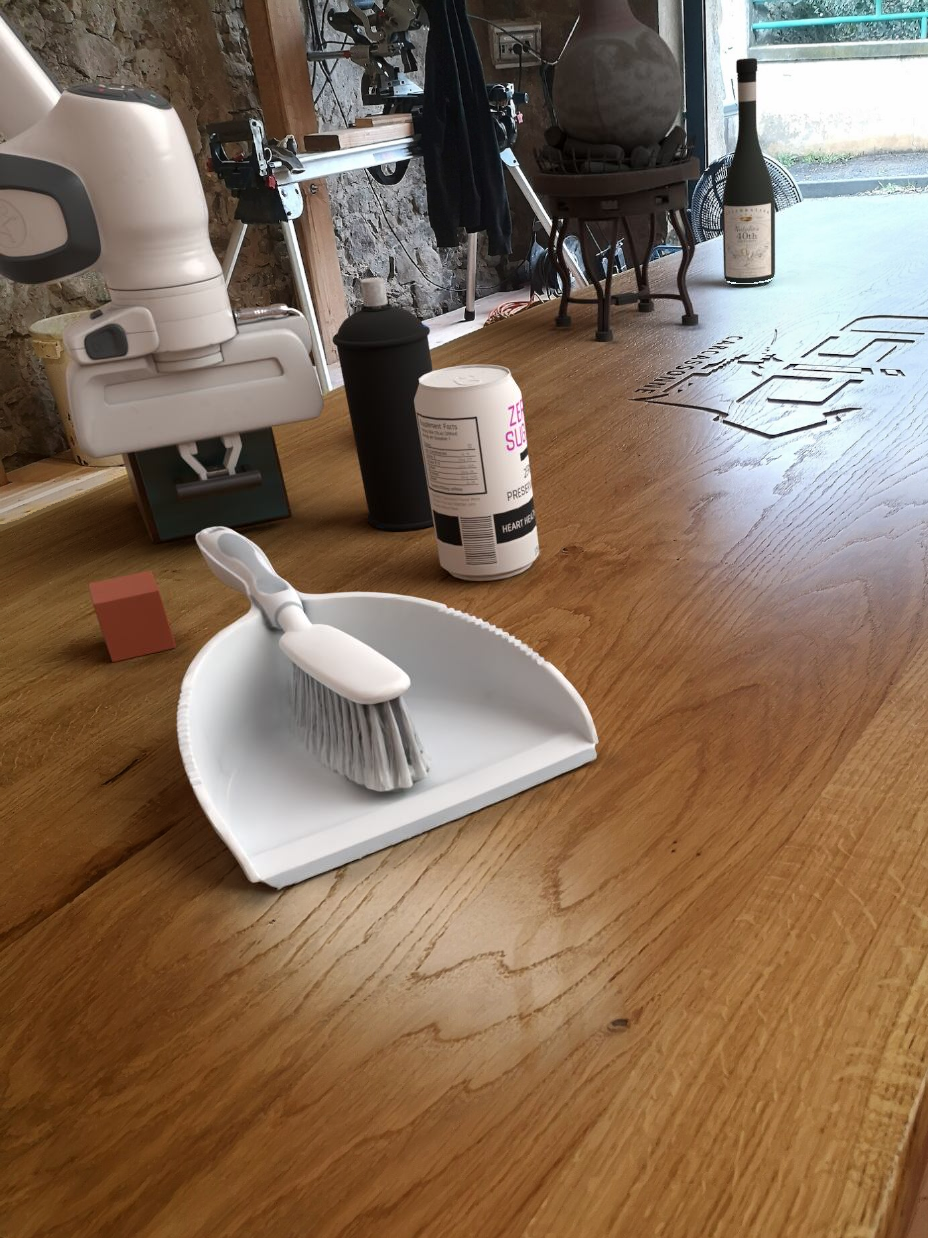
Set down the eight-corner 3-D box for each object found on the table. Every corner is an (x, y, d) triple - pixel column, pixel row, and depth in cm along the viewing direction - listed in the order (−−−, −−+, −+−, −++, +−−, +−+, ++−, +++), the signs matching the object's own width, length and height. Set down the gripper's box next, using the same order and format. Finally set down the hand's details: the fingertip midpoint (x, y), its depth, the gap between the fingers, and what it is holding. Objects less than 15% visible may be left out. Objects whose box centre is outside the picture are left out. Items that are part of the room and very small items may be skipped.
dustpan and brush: (254, 904, 65) (207, 745, 59) (79, 692, 87) (33, 563, 82) (616, 754, 75) (604, 608, 70) (376, 600, 98) (352, 480, 93)
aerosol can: (419, 536, 109) (377, 290, 98) (348, 525, 113) (300, 287, 102) (475, 506, 115) (441, 271, 104) (405, 496, 119) (366, 268, 108)
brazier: (723, 329, 170) (713, -82, 145) (562, 349, 166) (522, -69, 141) (682, 301, 188) (666, -68, 163) (536, 318, 185) (496, -57, 159)
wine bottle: (772, 287, 193) (771, 58, 176) (721, 288, 194) (715, 61, 177) (776, 277, 199) (776, 55, 182) (727, 279, 201) (722, 59, 184)
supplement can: (431, 558, 105) (400, 372, 96) (524, 540, 107) (502, 357, 98) (453, 591, 98) (422, 395, 90) (552, 571, 100) (531, 378, 92)
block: (112, 662, 91) (92, 603, 89) (106, 640, 95) (87, 583, 92) (176, 648, 93) (159, 589, 90) (168, 626, 96) (151, 569, 94)
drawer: (299, 529, 110) (279, 440, 106) (168, 556, 107) (141, 465, 102) (260, 477, 124) (241, 396, 120) (142, 499, 120) (118, 417, 116)
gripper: (295, 294, 106) (329, 457, 114) (41, 331, 99) (96, 502, 107) (312, 305, 101) (346, 474, 109) (46, 345, 94) (103, 523, 102)
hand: (220, 488), depth 108 cm, fingers closed
